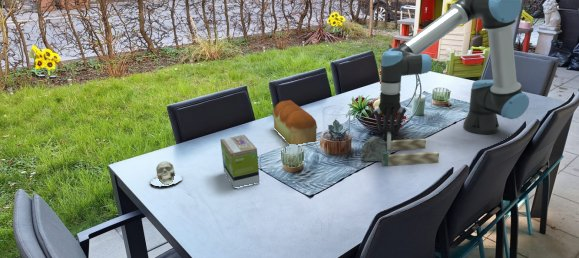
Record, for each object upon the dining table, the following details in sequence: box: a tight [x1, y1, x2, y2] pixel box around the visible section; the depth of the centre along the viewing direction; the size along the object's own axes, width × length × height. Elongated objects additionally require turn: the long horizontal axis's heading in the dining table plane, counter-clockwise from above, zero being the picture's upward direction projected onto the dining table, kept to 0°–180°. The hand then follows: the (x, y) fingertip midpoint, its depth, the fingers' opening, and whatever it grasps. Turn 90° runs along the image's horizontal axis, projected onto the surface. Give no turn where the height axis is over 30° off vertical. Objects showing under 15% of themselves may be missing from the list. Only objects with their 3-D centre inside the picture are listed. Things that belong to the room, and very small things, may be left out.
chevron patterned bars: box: [381, 138, 440, 167], centre depth 172 cm, size 22×16×5 cm
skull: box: [155, 161, 176, 185], centre depth 160 cm, size 12×10×10 cm
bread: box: [272, 99, 318, 145], centre depth 196 cm, size 25×12×15 cm, turn 20°
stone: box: [360, 135, 388, 163], centre depth 171 cm, size 10×10×10 cm
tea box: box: [220, 134, 261, 188], centre depth 157 cm, size 15×10×15 cm, turn 23°
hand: (387, 148), depth 171 cm, fingers closed
